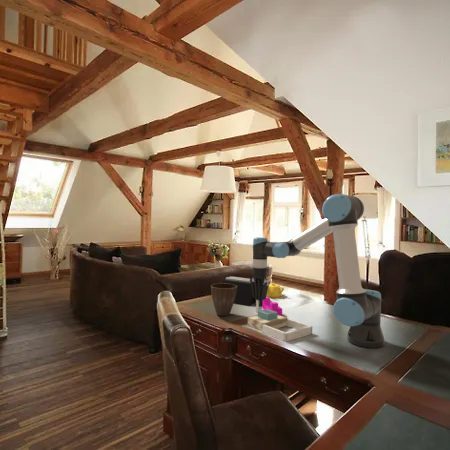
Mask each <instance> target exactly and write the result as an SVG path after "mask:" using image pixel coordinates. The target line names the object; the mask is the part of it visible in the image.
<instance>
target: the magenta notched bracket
mask: <svg viewBox="0 0 450 450" xmlns="http://www.w3.org/2000/svg"><path fill="white" fill-rule="evenodd" d="M266 309H269V310H272V311H275V312H278V315H279V316H282V317H283V308H282V307H280V306H279V302H272V301H271V297H266V299H265V300H263V306H262V310H266Z"/></svg>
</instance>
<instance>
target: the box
mask: <svg viewBox="0 0 450 450" xmlns="http://www.w3.org/2000/svg"><path fill="white" fill-rule="evenodd" d="M286 327H289V328H291V329H293V330H290V331H286V332H285V331H282V330H280V329H279V328H277V329H275V328H272V327H270V326H267V325H263V328H262V331H261V332H262V333H263V334H266V335H268V336H271V337H272V338H273V337H274V338H275V339H278V340H280V341H282V342H285V343H286V342H289V341H292V340H296V339H300V338H303V337H305V336H309V335H312V334H313V326H312V325H310V324H308V323H307V324H306V323H303V322H301V321H297V320H294V319H291V318H287V326H286Z"/></svg>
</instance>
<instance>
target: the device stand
mask: <svg viewBox="0 0 450 450" xmlns="http://www.w3.org/2000/svg"><path fill="white" fill-rule="evenodd" d="M250 279H251V278H245V277H240V276H239V277H238V276H229V277H228V276H227V277H225V279H224V280H223V281H222V283H226V284H234V285H236V286H237V291H236V296H235V300H234V303H233V305H240V306H244V307H250V306H253V305H256V299H255V298H253V295H252V288H251V282H250Z"/></svg>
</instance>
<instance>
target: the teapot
mask: <svg viewBox="0 0 450 450" xmlns="http://www.w3.org/2000/svg"><path fill="white" fill-rule="evenodd" d="M284 291H285V287H282V286H281V285H280V284H276V283H275V282H271V283H270V284H269V286H268V291H267V296H266V297H269V298H270V299H272V298H273V299H277V297H278V298H280V297H282V293H283V292H284Z"/></svg>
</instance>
